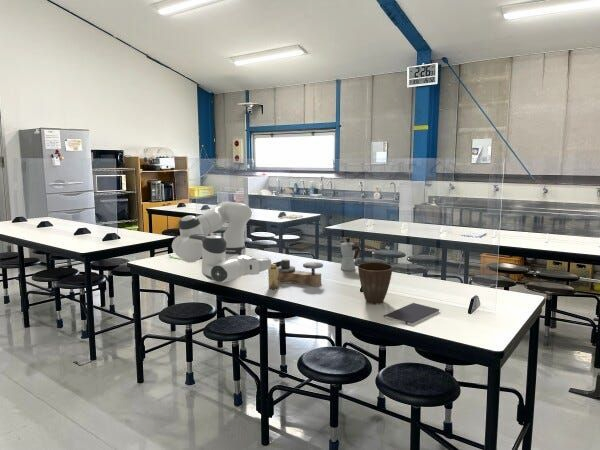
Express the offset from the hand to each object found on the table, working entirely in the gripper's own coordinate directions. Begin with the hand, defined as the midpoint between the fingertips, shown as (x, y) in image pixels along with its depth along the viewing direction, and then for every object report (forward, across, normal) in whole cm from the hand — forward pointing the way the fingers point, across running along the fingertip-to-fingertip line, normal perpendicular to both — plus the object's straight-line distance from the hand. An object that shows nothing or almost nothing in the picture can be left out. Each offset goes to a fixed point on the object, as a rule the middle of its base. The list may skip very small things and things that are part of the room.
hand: (259, 258), depth 210 cm
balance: (+27, +5, -18) cm, 33 cm away
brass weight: (+12, 0, -18) cm, 21 cm away
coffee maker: (+62, +18, -18) cm, 67 cm away
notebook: (+6, +70, -19) cm, 72 cm away
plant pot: (+15, +50, -18) cm, 56 cm away
